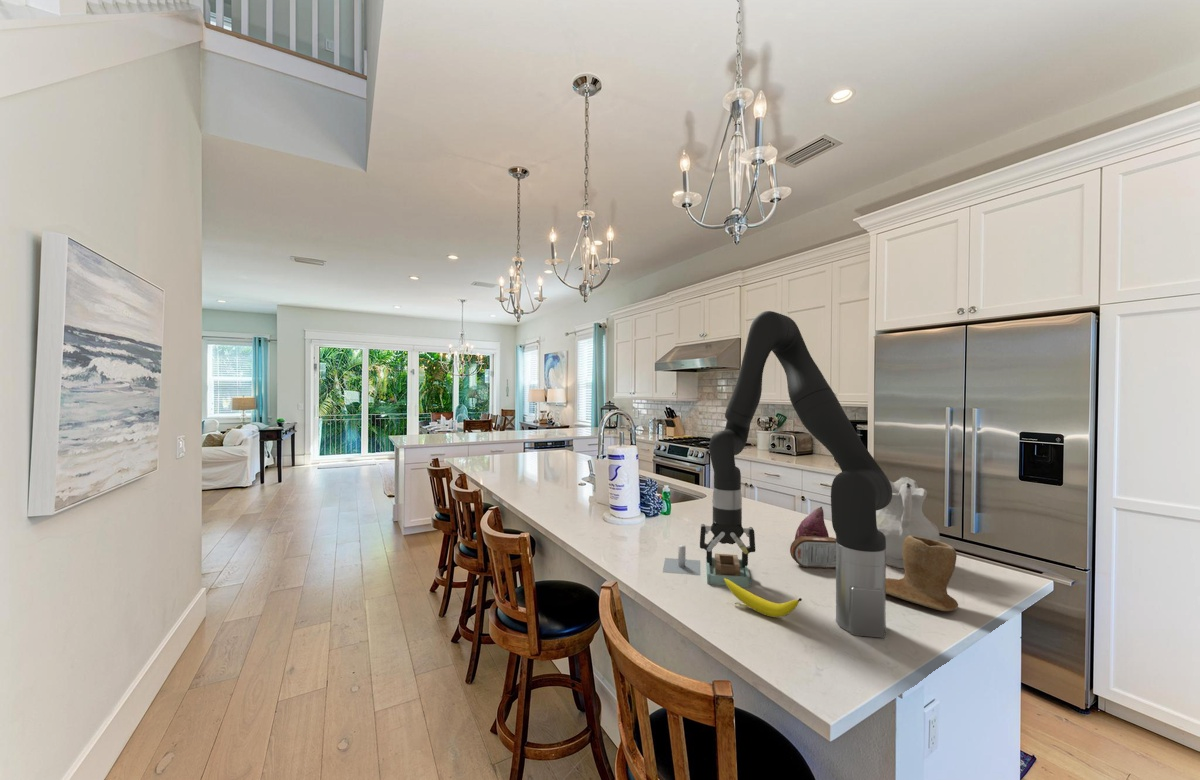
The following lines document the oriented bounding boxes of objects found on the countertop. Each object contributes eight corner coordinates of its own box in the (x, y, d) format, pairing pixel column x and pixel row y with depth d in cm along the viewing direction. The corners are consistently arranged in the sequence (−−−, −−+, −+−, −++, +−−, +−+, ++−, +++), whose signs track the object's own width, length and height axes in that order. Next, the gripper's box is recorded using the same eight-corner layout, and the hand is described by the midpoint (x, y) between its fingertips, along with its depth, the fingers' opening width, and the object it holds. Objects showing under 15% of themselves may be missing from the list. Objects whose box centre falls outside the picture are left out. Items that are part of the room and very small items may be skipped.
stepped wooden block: (740, 582, 120) (740, 567, 120) (716, 580, 121) (716, 565, 121) (737, 569, 129) (737, 555, 129) (714, 567, 130) (714, 553, 130)
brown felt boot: (966, 605, 109) (966, 541, 109) (948, 620, 102) (948, 551, 102) (894, 583, 121) (894, 525, 121) (874, 596, 114) (874, 534, 114)
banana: (727, 596, 113) (727, 570, 113) (804, 626, 99) (804, 596, 99) (720, 600, 111) (720, 573, 111) (798, 631, 97) (798, 600, 97)
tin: (844, 566, 133) (844, 536, 133) (849, 570, 130) (849, 540, 130) (789, 564, 135) (789, 534, 135) (793, 568, 132) (793, 538, 132)
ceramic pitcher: (957, 584, 123) (965, 490, 123) (877, 574, 126) (885, 482, 126) (915, 556, 145) (922, 476, 144) (848, 547, 148) (854, 469, 148)
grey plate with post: (700, 577, 125) (700, 554, 125) (662, 574, 127) (662, 551, 127) (699, 562, 136) (699, 541, 136) (665, 559, 138) (665, 538, 138)
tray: (750, 589, 117) (750, 578, 117) (707, 585, 119) (707, 574, 119) (744, 569, 130) (745, 559, 130) (706, 566, 133) (706, 556, 133)
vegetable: (829, 556, 150) (842, 511, 150) (825, 561, 142) (839, 514, 141) (795, 542, 156) (808, 499, 156) (789, 546, 147) (803, 501, 147)
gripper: (700, 507, 123) (699, 568, 123) (756, 509, 120) (756, 573, 120) (699, 500, 130) (699, 558, 130) (753, 503, 127) (753, 562, 127)
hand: (726, 565), depth 125 cm, fingers open, 8 cm apart
